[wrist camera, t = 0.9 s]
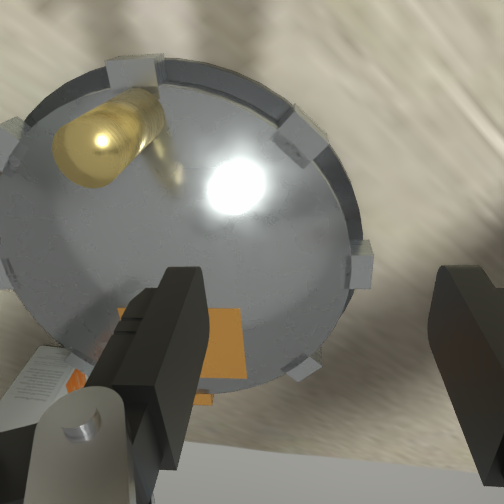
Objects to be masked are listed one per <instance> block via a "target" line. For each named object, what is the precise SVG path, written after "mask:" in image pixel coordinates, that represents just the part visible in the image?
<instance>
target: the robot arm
mask: <svg viewBox="0 0 504 504" xmlns="http://www.w3.org/2000/svg"><path fill="white" fill-rule="evenodd" d="M209 333H210V321H209V313H208V306H207V299H206V293H205V286H204V279H203V273H202V270H201V268H200V267H199V266H189V267H168V268H167V269H166V270H165V273H164V275H163V277H162V279H161V281H160V283H159V285H158V287H157V288H145V289H144V290H143V291H141V292H140V293H139V294H138V295H137V296H136V297H134V298H133V299H132V300H131V301H130V302H129V304H128V306H127V307H126V309H125V311H124V313H123V315H122V317H121V321H119V322H118V324H117V326H116V328H115V330H114V334H113V335H111V337H110V339H109V341H108V343H107V344H106V346H105V348H104V350H103V352H102V354H101V356H100V357H99V359H98V361H97V363H96V365H95V367H94V369H93V370H92V372H91V374H90V376H89V378H88V380H87V382H86V383H85V385H84V387H83V388H81V389H78V390H75V391H72V392H70V393H68V394H66V395H64V396H63V397H61V398H60V399H58V400H57V401H56V402H54V403H53V404H52V405H51V406H50V407H49V408H48V409H47V410H46V411H45V412H44V413H43V415H42V416H41V418H40V420H39V421H38V423H35V424H31V425H28V426H24V427H20V428H16V429H11V430H7V431H3V432H0V504H155V499H154V495H153V490H154V487H155V483H156V479H157V476H158V472H159V470H177V467H178V463H179V459H180V455H181V451H182V446H183V443H184V439H185V435H186V431H187V427H188V423H189V419H190V415H191V411H192V407H193V403H194V399H195V395H196V391H197V387H198V383H199V379H200V375H201V370H202V366H203V362H204V358H205V354H206V350H207V346H208V342H209ZM428 339H429V344H430V347H431V350H432V353H433V355H434V358H435V361H436V363H437V366H438V368H439V371H440V374H441V376H442V379H443V381H444V384H445V387H446V389H447V392H448V395H449V397H450V400H451V402H452V405H453V408H454V410H455V413H456V415H457V418H458V421H459V423H460V426H461V428H462V431H463V434H464V436H465V439H466V441H467V444H468V447H469V449H470V452H471V454H472V457H473V460H474V462H475V465H476V467H477V470H478V473H479V475H480V478H481V480H482V483H483V485H484V486H496V487H504V288H495V287H494V285H493V284H492V282H491V281H490V279H489V278H488V276H487V275H486V273H485V272H484V270H483V269H482V268H481V267H480V266H478V265H443V266H441V267H440V268H439V270H438V272H437V277H436V282H435V287H434V292H433V297H432V302H431V307H430V313H429V318H428Z"/></svg>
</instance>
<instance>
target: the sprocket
mask: <svg viewBox="0 0 504 504" xmlns="http://www.w3.org/2000/svg"><path fill="white" fill-rule="evenodd" d="M105 64H106V69H107V73H108V78H109V82H110V86H108V87H104V88H101V89H98V90H95V91H92V92H90V93H88V94H86V95H84V96H82V97H80V98H78V99H76V100H73V101H71V102H69V103H67V104H65V105H63V106H61V107H59V108H57V109H55V110H54V111H53V112H51V113H50V114H48V115H47V116H45V117H44V118H43V119H41V120H40V121H38V122H37V123H36V124H35V125H34V126H33V127H31V126H29V125H28V124H27V123H25V122H24V121H23V120H21V119H20V118H19V117H18V116H17V117H14V118H12V119H10V120H7V121H5V122H3V123H1V124H0V171H1V172H2V173H1V175H0V289H14V290H15V292H16V294H17V295H18V297H19V298H20V300H21V301H22V303H23V304H24V306H25V307H26V309H27V310H28V311H29V312H30V314H31V315H32V316H33V317H34V318H35V320H36V321H37V322H38V323H39V324H40V325H41V326H42V327H43V328H44V329H45V330H46V331H47V332H48V333H49V334H50V335H51V336H52V337H53V338H54V339H55V340H56V341H58V342H59V343H60V344H61V345H63V346H64V347H65V348H66V349H68V350H69V351H70V352H69V353H68V355H67V357H66V358H65V360H64V362H66V363H68V364H69V365H71V366H73V367H74V368H76V369H78V370H79V371H81V372H83V373H84V374H86V375H88V376H90V374H91V372H92V370H93V369H94V367H95V365H96V363H97V361H98V359H99V357H100V356H101V354H102V352H103V350H104V348H105V346H106V344H107V343H108V341H109V339H110V337H111V335H113V334H114V330H115V328H116V326H117V324H118V322H119V321H121V317H122V315H123V313H124V311H125V309H126V307H127V306H128V304H129V302H130V301H131V300H132V299H133V298H134V297H136V296H137V295H138V294H139V293H140V292H141V291H143V290H144V289H145V288H157V287H158V285H159V283H160V281H161V279H162V277H163V275H164V273H165V270H166V269H167V268H168V267H189V266H199V267H200V268H201V270H202V273H203V279H204V286H205V293H206V299H207V306H208V313H209V321H210V333H209V342H208V346H207V350H206V354H205V358H204V362H203V366H202V370H201V375H200V379H199V383H198V387H197V391H196V395H195V399H194V403H193V405H212V403H213V398H214V394H218V393H227V392H234V391H238V390H243V389H248V388H251V387H254V386H257V385H261V384H264V383H267V382H269V381H271V380H273V379H275V378H278V377H280V376H282V375H284V374H287V375H288V376H290V377H291V378H292V379H294V380H295V381H297V382H298V383H299V382H300V381H302V380H303V379H305V378H306V377H307V376H309V375H310V374H312V373H313V372H315V371H316V370H318V369H319V368H321V367H322V366H323V365H322V351H321V347H320V346H321V345H322V344H323V342H324V341H325V340H326V338H327V337H328V336H329V334H330V333H331V331H332V330H333V329H334V327H335V325H336V323H337V321H338V319H339V317H340V315H341V313H342V311H343V309H344V305H345V302H346V299H347V296H348V293H349V289H371V280H372V269H373V259H374V254H373V251H372V247H371V244H370V241H369V240H349V236H348V230H347V225H346V221H345V216H344V213H343V210H342V207H341V204H340V201H339V198H338V195H337V193H336V191H335V189H334V187H333V185H332V183H331V181H330V179H329V177H328V175H327V174H326V172H325V171H324V169H323V168H322V166H321V165H320V164H319V162H318V161H317V159H316V158H315V157H316V156H317V155H319V154H320V153H321V152H322V151H323V150H324V149H325V148H326V147H327V146H328V145H329V141H328V137H327V134H326V133H325V132H324V131H323V130H322V129H321V128H320V127H319V126H318V125H317V124H316V123H315V122H314V121H313V120H312V119H311V118H310V117H309V116H308V115H307V114H306V113H305V112H304V111H303V110H302V109H301V108H300V107H299V106H298V105H297V104H296V103H295V104H294V105H293V106H292V107H291V108H290V109H289V110H288V111H287V112H286V113H285V114H284V116H283V117H282V118H281V119H280V120H279V121H278V120H276V119H275V118H274V117H272V116H270V115H269V114H267V113H265V112H264V111H262V110H261V109H259V108H257V107H256V106H254V105H253V104H251V103H249V102H246V101H244V100H242V99H240V98H237V97H235V96H233V95H231V94H229V93H226V92H223V91H220V90H216V89H213V88H210V87H206V86H203V85H200V84H193V83H187V82H181V81H174V80H168V78H167V72H166V65H165V59H164V53H163V54H147V55H131V56H118V57H115V58H112V59H109V60H106V61H105Z"/></svg>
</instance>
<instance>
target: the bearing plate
mask: <svg viewBox="0 0 504 504" xmlns="http://www.w3.org/2000/svg"><path fill="white" fill-rule="evenodd" d="M164 59H165V65H166V72H167V78H168V80H174V81H181V82H187V83H193V84H200V85H203V86H206V87H210V88H213V89H216V90H220V91H223V92H226V93H229V94H231V95H233V96H235V97H237V98H240V99H242V100H244V101H246V102H249V103H251V104H253V105H254V106H256V107H257V108H259V109H261V110H262V111H264V112H265V113H267V114H269V115H270V116H272V117H274V118H275V119H276V120H278V121H279V120H280V119H281V118H282V117H283V116H284V114H285V113H286V112H287V111H288V110H289V109H290V108H291V107H292V106H293V105H292V104H291V103H290V102H288V101H287V100H286V99H285V98H283V97H282V96H280V95H278V94H277V93H275V92H274V91H272V90H271V89H269V88H267V87H266V86H264V85H263V84H261V83H259V82H257V81H255V80H252V79H250V78H248V77H246V76H244V75H242V74H239V73H237V72H235V71H232V70H229V69H226V68H222V67H219V66H216V65H212V64H209V63H205V62H199V61H193V60H186V59H180V58H164ZM108 86H110V82H109V78H108V73H107V69H106V66H105V67H102V68H98V69H95V70H93V71H90V72H88V73H86V74H84V75H81V76H79V77H77V78H75V79H73V80H71V81H69V82H67V83H65V84H64V85H62V86H61V87H60V88H58V89H57V90H55V91H54V92H53V93H51V94H50V95H49V96H47V97H46V98H45V99H44V100H43V101H42V102H41V103H40V104H39V105H38V106H37V107H36V108H35V109H34V110H33V111H32V112H31V113H30V114H29V115H28V117H27V118H26V119H25V121H24V122H25V123H27V124H28V125H29V126H31V127H33V126H34V125H35V124H36V123H37V122H38V121H40V120H41V119H43V118H44V117H45V116H47V115H48V114H50V113H51V112H53V111H54V110H55V109H57V108H59V107H61V106H63V105H65V104H67V103H69V102H71V101H73V100H76V99H78V98H80V97H82V96H84V95H86V94H88V93H90V92H92V91H95V90H98V89H101V88H104V87H108ZM315 158H316V159H317V161H318V162H319V164H320V165H321V166H322V168H323V169H324V171H325V172H326V174H327V175H328V177H329V179H330V181H331V183H332V185H333V187H334V189H335V191H336V193H337V195H338V198H339V201H340V204H341V207H342V210H343V213H344V216H345V221H346V225H347V230H348V236H349V240H363V231H362V225H361V218H360V212H359V207H358V204H357V201H356V197H355V194H354V191H353V188H352V185H351V181H350V179H349V177H348V175H347V173H346V171H345V169H344V167H343V165H342V163H341V161H340V159H339V157H338V156H337V154H336V153H335V151H334V150H333V148H332V147H331V145H330V144H329V145H328V146H327V147H326V148H325V149H324V150H323V151H322V152H321V153H320V154H319V155H317V156H316V157H315ZM353 292H354V289H349V293H348V296H347V299H346V302H345V305H344V309H343V311H342V313H343V312H344V311H345V309H346V307H347V305H348V303H349V301H350V299H351V297H352V295H353ZM342 313H341V315H342ZM341 315H340V316H341ZM339 318H340V317H339Z"/></svg>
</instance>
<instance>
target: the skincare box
mask: <svg viewBox="0 0 504 504" xmlns="http://www.w3.org/2000/svg"><path fill="white" fill-rule="evenodd" d="M69 352H70V351H69V350H68V349H66V348H59V347H51V346H39V347H38V349H37V350H36V351H35V353H34V354H33V356H32V357H31V358H30V360H29V361H28V363H27V364H26V365H25V367H24V368H23V369H22V371H21V372H20V374H19V375H18V376H17V378H16V379H15V380H14V382H13V383H12V384H11V386H10V387H9V389H8V390H7V391H6V393H5V394H4V396H3V397H2V398H1V400H0V432H3V431H7V430H11V429H16V428H20V427H24V426H28V425H31V424H35V423H38V421H39V420H40V418H41V416H42V415H43V413H44V412H45V411H46V410H47V409H48V408H49V407H50V406H51V405H52V404H53V403H54V402H56V401H57V400H58V399H60V398H61V397H63V396H64V395H66V394H68V393H70V392H72V391H75V390H78V389H81V388H83V387H84V385H85V383H86V382H87V380H88V376H87V375H86V374H84V373H83V372H81V371H79V370H78V369H76V368H74V367H73V366H71V365H69V364H68V363H66V362H64V360H65V358H66V357H67V355H68V353H69Z"/></svg>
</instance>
